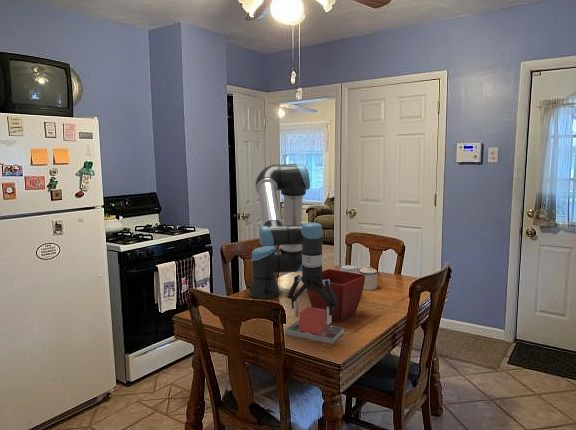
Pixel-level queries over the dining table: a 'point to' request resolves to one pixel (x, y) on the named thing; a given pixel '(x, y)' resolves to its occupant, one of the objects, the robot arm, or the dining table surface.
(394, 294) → the dining table surface
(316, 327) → the red cube
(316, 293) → the plant pot
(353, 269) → the supplement can
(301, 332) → the breaker panel
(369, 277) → the teacup with lid
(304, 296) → the dining table surface
